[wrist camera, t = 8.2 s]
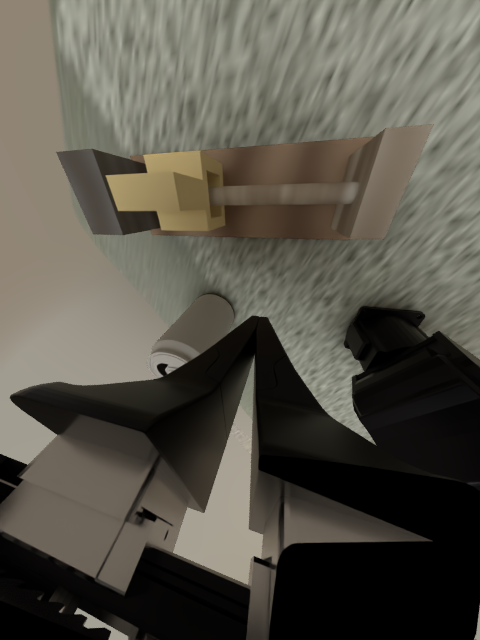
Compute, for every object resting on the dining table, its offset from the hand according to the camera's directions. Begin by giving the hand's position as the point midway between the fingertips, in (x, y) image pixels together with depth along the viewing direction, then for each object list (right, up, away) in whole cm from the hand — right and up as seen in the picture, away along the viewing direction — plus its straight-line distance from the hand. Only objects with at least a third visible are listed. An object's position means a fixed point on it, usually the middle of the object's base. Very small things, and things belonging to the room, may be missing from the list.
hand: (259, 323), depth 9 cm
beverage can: (-5, +2, +17) cm, 17 cm away
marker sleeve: (-5, +11, +6) cm, 14 cm away
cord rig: (-1, +13, +8) cm, 15 cm away
